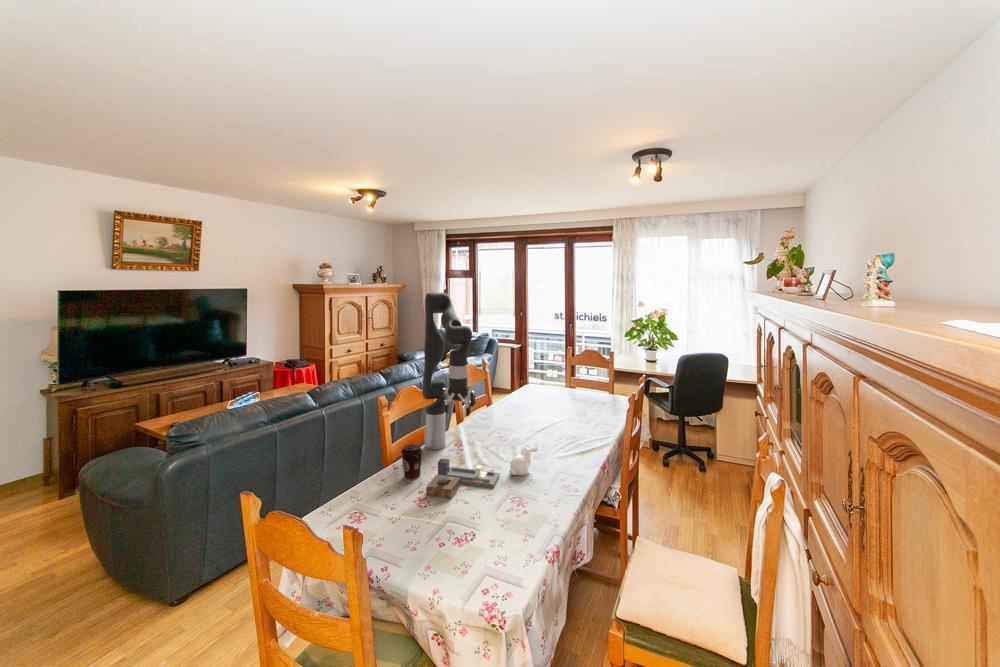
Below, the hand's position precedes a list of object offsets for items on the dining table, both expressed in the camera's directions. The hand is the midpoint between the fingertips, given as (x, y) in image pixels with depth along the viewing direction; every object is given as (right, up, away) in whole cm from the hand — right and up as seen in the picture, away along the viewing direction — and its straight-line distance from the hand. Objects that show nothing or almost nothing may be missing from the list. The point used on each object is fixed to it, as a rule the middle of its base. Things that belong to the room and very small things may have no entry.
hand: (457, 414), depth 174 cm
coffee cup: (-19, -27, +3) cm, 33 cm away
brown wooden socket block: (-5, -28, -9) cm, 30 cm away
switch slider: (+9, -25, 0) cm, 27 cm away
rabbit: (+27, -26, +9) cm, 39 cm away
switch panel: (+5, -27, +1) cm, 27 cm away
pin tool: (-5, -28, -9) cm, 29 cm away
